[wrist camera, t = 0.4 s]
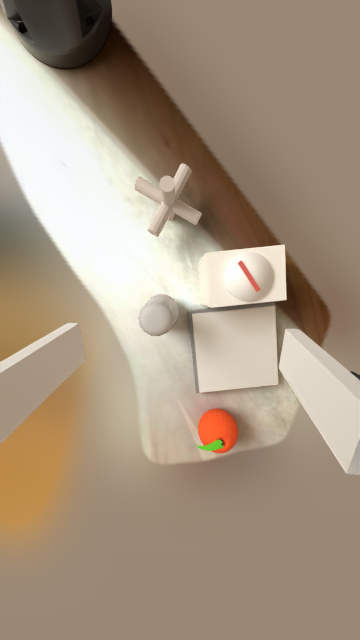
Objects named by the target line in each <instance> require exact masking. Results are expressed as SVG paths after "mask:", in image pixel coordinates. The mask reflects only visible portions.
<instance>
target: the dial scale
mask: <svg viewBox="0 0 360 640" xmlns="http://www.w3.org/2000/svg"><path fill="white" fill-rule="evenodd" d="M198 268H199V280H200V291H201V303H202V304H204V305H206V306H208V307H210V308H208V309H199V310H189V311H188V313H189V324H190V334H191V344H192V354H193V365H194V375H195V385H196V392H197V393H202V392H212V391H221V390H231V389H241V388H250V387H260V386H269V385H278V360H277V335H276V310H275V302H272V301H282V300H287V298H286V267H285V245H277V246H267V247H258V248H248V249H238V250H229V251H219V252H209V253H206V254H205V255H204V256H203V258H202V259H201V260H200V262H199V263H198ZM262 302H266V303H262ZM253 303H257V304H253ZM243 304H247V305H243ZM233 305H237V306H233ZM224 306H228V307H224ZM214 307H218V308H214Z"/></svg>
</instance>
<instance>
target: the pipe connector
mask: <svg viewBox="0 0 360 640" xmlns="http://www.w3.org/2000/svg"><path fill="white" fill-rule="evenodd" d="M190 174H191V169H190V168H189V167H188V166H187V165H185V164H181V165H180V167H179V169H178V171H177V173H176V175H175V177H174V179H173V178H172V177H170V176H164V177H162V178H161V180H160V188H158V187H157V186H155V185H153V184H152V183H150V182H148V181H147V180H145V179H143V178H141V177H139V178H138V179H137V181H136V184H135V190H136V191H138V192H140V193H142V194H143V195H145V196H147V197H148V198H150V199H152V200H153V201H155V202H157V203H159V204H160V206H159V208H158V210H157V212H156V214H155V216H154V218H153V220H152V222H151V224H150V226H149V228H148V231H149V232H150V233H151V234H153V235H155V236H157V237H158V236H159V234H160V232H161V230H162V229H163V227H164V225H165V223H166V221H167V220H173V219H174V218H175V213H176V214H177V215H179V216H181V217H182V218H184V219H186V220H188V221H189V222H191V223H193V224H194V225H197V223H198V221H199V219H200V217H201V215H202V213H200V212H199V211H197V210H195V209H194V208H192V207H190V206H189V205H187V204H185V203H184V202H182V201H180V200H179V199H178V197H179V195H180V193H181V192H182V190H183V188H184V186H185V184H186V182H187V180H188V178H189V176H190Z"/></svg>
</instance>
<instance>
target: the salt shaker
mask: <svg viewBox="0 0 360 640" xmlns="http://www.w3.org/2000/svg"><path fill="white" fill-rule="evenodd" d="M178 316H179V306H178V304H177V303H176V301H175V300H174V299H173V298H172V297H170V296H168V295H162V294H158V295H156V296H154V297H151V299H150V300H149V301H148V302H147V303H146V304H145V306H144V307H143V308H142V309H141V311H140V315H139V323H140V326H141V328H142V329H143V330H144V332H146V333H148V334H149V335H151V336H160V335H163V334H165V333H167V332H168V331H169V330H170V329H171V328H172V326H173V324H174V323H175V322H176V321H177V320H178Z"/></svg>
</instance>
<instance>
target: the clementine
mask: <svg viewBox="0 0 360 640" xmlns="http://www.w3.org/2000/svg"><path fill="white" fill-rule="evenodd" d="M198 433H199V436H200V439H201V442H202V443H203V445H204V446H197V445H196V446H197V447H198V448H200V449H202V450H207V451H212V452H215V453H225V452H227V451H229V450H230V449H231V448H232V447H233V446H234V445H235V443H236V441H237V437H238V428H237V425H236V422H235V420H234V419H233V417H232V416H231V415H230V414H229V413H228V412H226V411H224V410H222V409H212V410H209V411H207V412H206V413H205V414H204V415H203V416H202V418H201V419H200V421H199V425H198Z"/></svg>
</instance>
